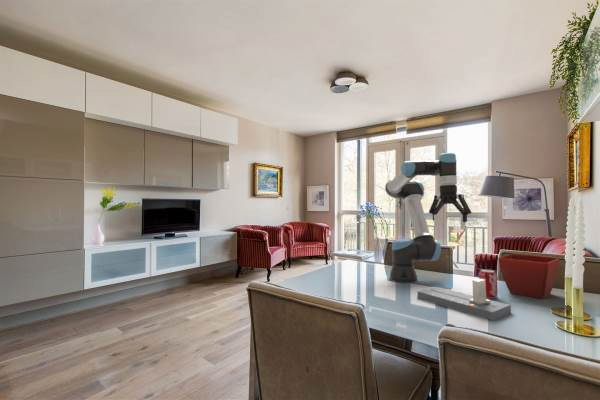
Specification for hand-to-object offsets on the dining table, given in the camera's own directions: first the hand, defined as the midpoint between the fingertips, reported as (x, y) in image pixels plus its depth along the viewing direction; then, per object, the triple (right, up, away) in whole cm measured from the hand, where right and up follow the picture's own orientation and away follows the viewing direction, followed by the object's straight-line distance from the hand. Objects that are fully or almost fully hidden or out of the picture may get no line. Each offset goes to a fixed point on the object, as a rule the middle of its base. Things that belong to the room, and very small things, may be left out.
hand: (449, 228), depth 140 cm
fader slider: (0, -28, -24) cm, 37 cm away
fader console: (-4, -31, -18) cm, 36 cm away
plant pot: (+36, -31, -4) cm, 48 cm away
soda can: (+14, -31, -8) cm, 35 cm away
